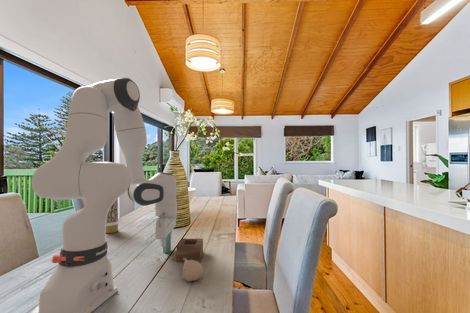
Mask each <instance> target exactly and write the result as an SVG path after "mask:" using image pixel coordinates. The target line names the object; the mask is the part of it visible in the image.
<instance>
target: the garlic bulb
mask: <svg viewBox="0 0 470 313" xmlns="http://www.w3.org/2000/svg"><path fill="white" fill-rule="evenodd" d="M183 260H185V262H183V267H182V277H183V279H184V280H185V281H187V282H193V281H197V280H199V279H201V277H202V275H203V272H204V271H203V266H202V264H201V263H200V262H197V261H194V260H187V259H186V258H183Z"/></svg>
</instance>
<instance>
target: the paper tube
mask: <svg viewBox="0 0 470 313" xmlns="http://www.w3.org/2000/svg"><path fill="white" fill-rule="evenodd" d="M118 199H119V198H118ZM118 199H117V200H116V201H115V202H114V203H113V205H112V206H111V208H110V210H109V212H108V215H107V220H106V234H114V233H117V232H118V231H119V200H118Z"/></svg>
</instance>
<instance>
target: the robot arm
mask: <svg viewBox="0 0 470 313" xmlns="http://www.w3.org/2000/svg"><path fill="white" fill-rule="evenodd" d="M140 95H141V92H140V90H139V86H138V85H137V84H136V82H135V81H133V80H132V79H131V78H129V77H117V78H115V79H114V78H112V79H108V80H100V81H98V82H95V83H93V84H90V85H86V86H80V87H77V88H76V89H75V91H74V92H73V94H72V97H71V100H70V102H69V107H68V113H67V114H68V115H67V122H66V123H67V124H66V131H65V136H64V141H63V143H62V145H61V147H60V148H59V150H58V151H57V153H55V155H54V156H52V158H50V159H49V160H47V162H44V163H43V164H41V165H40V166H38V167H37V168H36V170H35V171H34V173H33V174H32V177H31V188H32V190H33V192H34V193H35V194H36V195H37V196H38V197H39V198H42V199H49V200H56V201H57V200H58V201H59V200H60V201H62V200H64V201H65V200H81V199H82V200H85V204H84V206H83V208H80V209H78V210H76V211H74V212H73V213H71V214H69V215H68V216H67V217H66V218H65V219H64V221H63V224H62V248H61V249H60V252H59V254H58V255H57V254H55V255H53V256H52V258H51V263H52V264H58V265H57V266H56V268H55V270H54V272H52V274H51V276H50V278H49V279H48V280H47V282H46V283H45V285H44V287H43V288H42V289H41V291H40V294H39V300H38V305H37V306H36V307H35V308H34V309H33V310H32V311H31V312H30V313H92V312H94V311H95V310H96V309H97V308H99V307H100V306H101V305H102V304H103V303H105V302H106V301H107V300H108V299H110V298H111V297H112V296H113V295H115V294H116V293H117V292H118V286H116V285H114V276H113V266H112V262H111V261H110V259H109V258H108V256H107V254H108V249H109V248H108V247H109V246H108V241H107V240H106V236H107V233H106V220H107V215H108V212H109V210H110V208H111V206H112V205H113V203H114V202H115V201H116V200H117V199H119V198H121V196H123V195H124V194H125V193H126V192H127V196H128V198H129V199H130V200H131V201H132V202H135V204H138V205H139V206H142V207H144V206H145V207H146V206H149V205H154V206H155V208H154V210H155V216H156V217H158V218H157V219H156V222H155V232H154V236H155V239H156V240H160V242H161V247H162V248H163V247H166V245H167V241H166V237H167V235H168V234H169V233H170V232H171V236H172V235H173V229H174V228H175V227H176V224H177V217H178V216H177V215H178V210H179V206H178V202H177V195H178V194H177V192H178V191H177V190H178V187H177V180H176V176H175V175H174V174H172V173H169V172H160V171H159V172H157V173H156V174H154V175H153V176H151V177H149V178H148V179H147V178H146V175H145V170H144V165H143V164H144V163H143V153H144V150H145V148H146V147H147V145H148V144H147V143H148V142H147V139H148V138H147V129H146V126H145V122H144V121H145V120H144V119H143V118H144V117H143V115H142V113H141V110H140V107H139V106H138V105H139V103H140V99H141V96H140ZM108 113H111V115H112V116H113V123H114V124H113V125H114V130H115V134H116V139H117V142H118V144H119V148H120V149H121V152H122V154H123V156H124V159H125V162H126V165H125V164H123V163H119V162H113V161H86V160H87V159H88V158H89V156H91V155H92V154H94V153H97V152H99V151H101V150H102V149H103V148H104V147H105V146H106V144H107V143H108V127H109V126H108V122H109V118H108V117H109V116H108Z"/></svg>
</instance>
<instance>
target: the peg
mask: <svg viewBox="0 0 470 313" xmlns="http://www.w3.org/2000/svg"><path fill="white" fill-rule="evenodd" d="M166 241H167V245H166V247H162V253H163V254H169V253H172V249H171V248H172V235H171V232H170V233H169V234H168V235H167V237H166Z"/></svg>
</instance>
